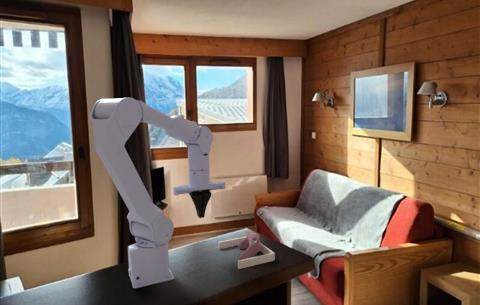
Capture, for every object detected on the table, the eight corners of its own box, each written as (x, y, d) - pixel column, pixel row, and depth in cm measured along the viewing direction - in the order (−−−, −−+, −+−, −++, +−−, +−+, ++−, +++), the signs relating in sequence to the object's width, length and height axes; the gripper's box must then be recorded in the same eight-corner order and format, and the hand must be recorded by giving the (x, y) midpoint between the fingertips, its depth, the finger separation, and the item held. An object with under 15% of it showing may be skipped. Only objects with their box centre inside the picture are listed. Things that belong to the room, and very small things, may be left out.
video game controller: (253, 268, 90) (265, 245, 89) (237, 261, 90) (249, 238, 89) (251, 252, 100) (261, 231, 99) (237, 246, 99) (247, 225, 99)
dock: (238, 269, 86) (238, 261, 86) (218, 248, 99) (218, 241, 99) (274, 260, 91) (274, 253, 91) (250, 241, 104) (250, 235, 103)
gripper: (218, 164, 100) (219, 209, 102) (169, 169, 94) (171, 216, 96) (227, 168, 94) (228, 215, 96) (175, 173, 88) (178, 224, 90)
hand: (200, 216), depth 96 cm, fingers closed
